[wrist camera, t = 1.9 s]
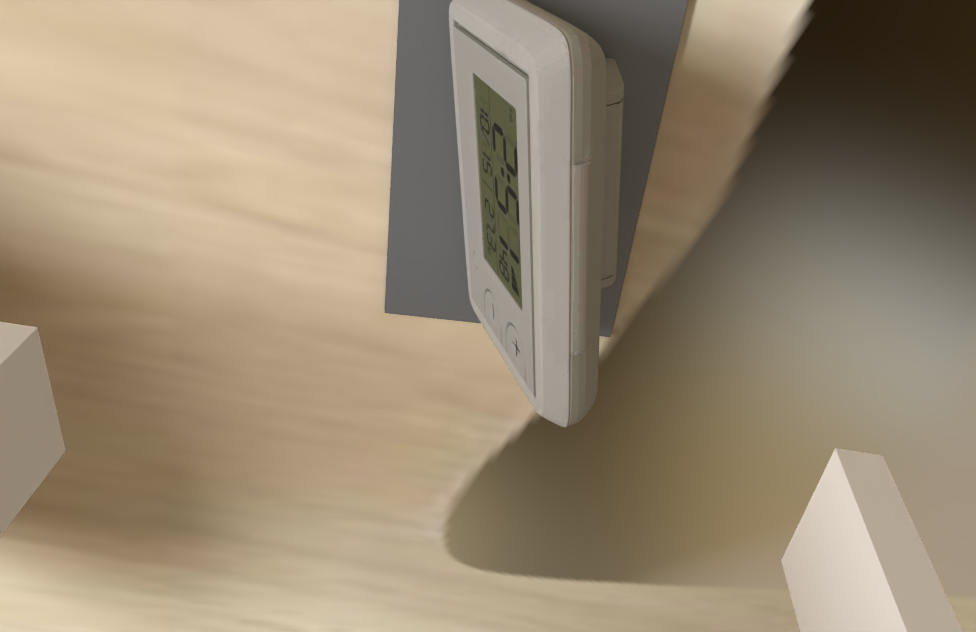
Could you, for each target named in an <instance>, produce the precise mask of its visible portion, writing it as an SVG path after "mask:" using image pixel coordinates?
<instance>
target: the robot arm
mask: <svg viewBox="0 0 976 632" xmlns="http://www.w3.org/2000/svg"><path fill="white" fill-rule="evenodd" d="M65 452H66V449H65V445H64V440H63V436H62V432H61V427H60V423H59V418H58V414H57V410H56V405H55V401H54V397H53V392H52V388H51V383H50V379H49V375H48V370H47V366H46V362H45V357H44V353H43V349H42V344H41V340H40V335H39V331H38V327H33V326H26V325H19V324H13V323H6V322H0V537H1V535H2V534H3V533H4V531H5V530H6V529H7V527H8V526H9V525H10V524H11V522H12V521H13V520H14V518H15V517H16V516H17V514H18V513H19V512H20V510H21V509H22V508H23V507H24V505H25V504H26V503H27V501H28V500H29V499H30V497H31V496H32V495H33V493H34V492H35V491H36V490H37V488H38V487H39V486H40V484H41V483H42V482H43V480H44V479H45V478H46V476H47V475H48V474H49V473H50V471H51V470H52V469H53V467H54V466H55V465H56V463H57V462H58V461H59V459H60V458H61V457H62V456H63V454H64V453H65ZM781 562H782V566H783V569H784V573H785V577H786V581H787V585H788V588H789V592H790V596H791V600H792V603H793V607H794V611H795V615H796V619H797V622H798V626H799V630H800V632H963V631H962V629H961V627H960V624H959V622H958V620H957V618H956V616H955V613H954V611H953V609H952V607H951V605H950V602H949V600H948V598H947V596H946V594H945V592H944V590H943V587H942V585H941V583H940V581H939V578H938V576H937V574H936V572H935V570H934V568H933V565H932V563H931V561H930V559H929V556H928V554H927V552H926V550H925V548H924V545H923V543H922V541H921V539H920V537H919V535H918V533H917V530H916V528H915V526H914V524H913V521H912V519H911V517H910V515H909V513H908V511H907V508H906V506H905V504H904V502H903V499H902V497H901V495H900V493H899V491H898V489H897V486H896V484H895V482H894V480H893V478H892V475H891V473H890V471H889V469H888V467H887V464H886V462H885V460H884V458H883V456H882V455H877V454H870V453H864V452H857V451H851V450H844V449H837V448H835V450H834V452H833V454H832V456H831V458H830V460H829V463H828V464H827V466H826V469H825V471H824V473H823V475H822V477H821V479H820V481H819V483H818V485H817V487H816V489H815V491H814V494H813V495H812V498H811V500H810V502H809V504H808V506H807V508H806V510H805V512H804V514H803V516H802V518H801V520H800V522H799V525H798V527H797V529H796V531H795V533H794V535H793V537H792V539H791V541H790V543H789V545H788V547H787V549H786V551H785V554H784V556H783V558H782V560H781Z"/></svg>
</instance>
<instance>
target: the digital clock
mask: <svg viewBox="0 0 976 632" xmlns="http://www.w3.org/2000/svg"><path fill="white" fill-rule="evenodd" d="M449 28H450V44H451V60H452V73H453V87H454V101H455V115H456V129H457V142H458V156H459V170H460V184H461V198H462V211H463V225H464V239H465V253H466V266H467V278H468V290H469V297H470V302H471V305H472V307H473V310H474V312H475V313H476V315H477V317H478V319H479V320H480V322H481V323H482V325H483V327H484V328H485V330H486V332H487V333H488V335H489V336H490V338H491V340H492V341H493V343H494V345H495V346H496V348H497V349H498V351H499V353H500V354H501V356H502V358H503V359H504V361H505V362H506V364H507V366H508V367H509V369H510V371H511V372H512V374H513V375H514V377H515V379H516V380H517V382H518V384H519V385H520V387H521V388H522V390H523V392H524V393H525V395H526V397H527V398H528V400H529V401H530V403H531V404H532V406H533V407H534V409H535V410H536V412H537V413H538V414H539V415H540V416H542V417H544V418H546V419H548V420H549V421H551V422H553V423H555V424H558V425H560V426H562V427H567V426H571V425H574V424H576V423H577V422H579V421H580V420H581V419H583V417H584V416H585V415H586V414H587V412H588V411H589V410H590V408H591V407H592V405H593V403H594V402H595V399H596V395H597V384H598V361H599V332H600V299H601V289H602V288H605V287H607V286H610V285H612V284H613V283H614V281H615V279H616V268H617V266H616V263H617V239H618V215H619V190H620V166H621V141H622V117H623V96H624V82H623V80H622V77H621V74H620V72H619V69H618V66H617V63H616V61H615V59H613V58H605V56H604V53H603V51H602V49H601V47H600V46H599V44H598V43H597V42H596V41H595V40H594V39H593V38H591V37H590V36H589V35H588V34H586V33H585V32H583V31H581V30H580V29H578V28H577V27H575V26H573V25H571V24H570V23H568V22H566V21H564V20H562V19H560V18H558V17H556V16H555V15H553V14H551V13H549V12H547V11H545V10H543V9H541V8H539V7H537V6H535V5H533V4H532V3H530V2H528V1H526V0H452V2H451V3H450V6H449Z"/></svg>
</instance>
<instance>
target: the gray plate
mask: <svg viewBox="0 0 976 632" xmlns="http://www.w3.org/2000/svg"><path fill="white" fill-rule="evenodd" d="M526 1H528V2H530V3H532V4H533V5H535V6H537V7H539V8H541V9H543V10H545V11H547V12H549V13H551V14H553V15H555V16H556V17H558V18H560V19H562V20H564V21H566V22H568V23H570V24H571V25H573V26H575V27H577V28H578V29H580V30H581V31H583V32H585V33H586V34H588V35H589V36H590V37H591V38H593V39H594V40H595V41H596V42H597V43H598V44H599V46H600V47H601V49H602V51H603V53H604V56H605V58H613V59H615V61H616V63H617V66H618V69H619V72H620V74H621V77H622V80H623V82H624V96H623V117H622V141H621V166H620V190H619V215H618V239H617V263H616V266H617V268H616V279H615V281H614V283H613V284H612V285H610V286H607V287H605V288H602V289H601V299H600V332H599V336H605V337H611V333H612V329H613V325H614V320H615V316H616V312H617V307H618V303H619V299H620V294H621V290H622V286H623V281H624V277H625V273H626V268H627V264H628V260H629V255H630V251H631V247H632V242H633V238H634V233H635V229H636V225H637V220H638V216H639V212H640V207H641V203H642V199H643V194H644V190H645V186H646V181H647V177H648V173H649V168H650V164H651V160H652V155H653V151H654V147H655V142H656V138H657V134H658V129H659V125H660V121H661V116H662V112H663V107H664V103H665V99H666V94H667V90H668V86H669V81H670V77H671V73H672V68H673V64H674V60H675V55H676V51H677V47H678V42H679V38H680V34H681V29H682V25H683V21H684V16H685V12H686V8H687V3H688V0H526ZM451 2H452V0H399V16H398V38H397V59H396V81H395V102H394V124H393V145H392V167H391V188H390V210H389V231H388V252H387V274H386V295H385V313H391V314H400V315H409V316H419V317H428V318H437V319H447V320H456V321H465V322H475V323H481V322H480V320H479V319H478V317H477V315H476V313H475V312H474V310H473V307H472V305H471V302H470V297H469V290H468V278H467V266H466V253H465V239H464V225H463V211H462V198H461V184H460V170H459V156H458V142H457V129H456V115H455V101H454V87H453V73H452V60H451V44H450V28H449V6H450V3H451Z"/></svg>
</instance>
